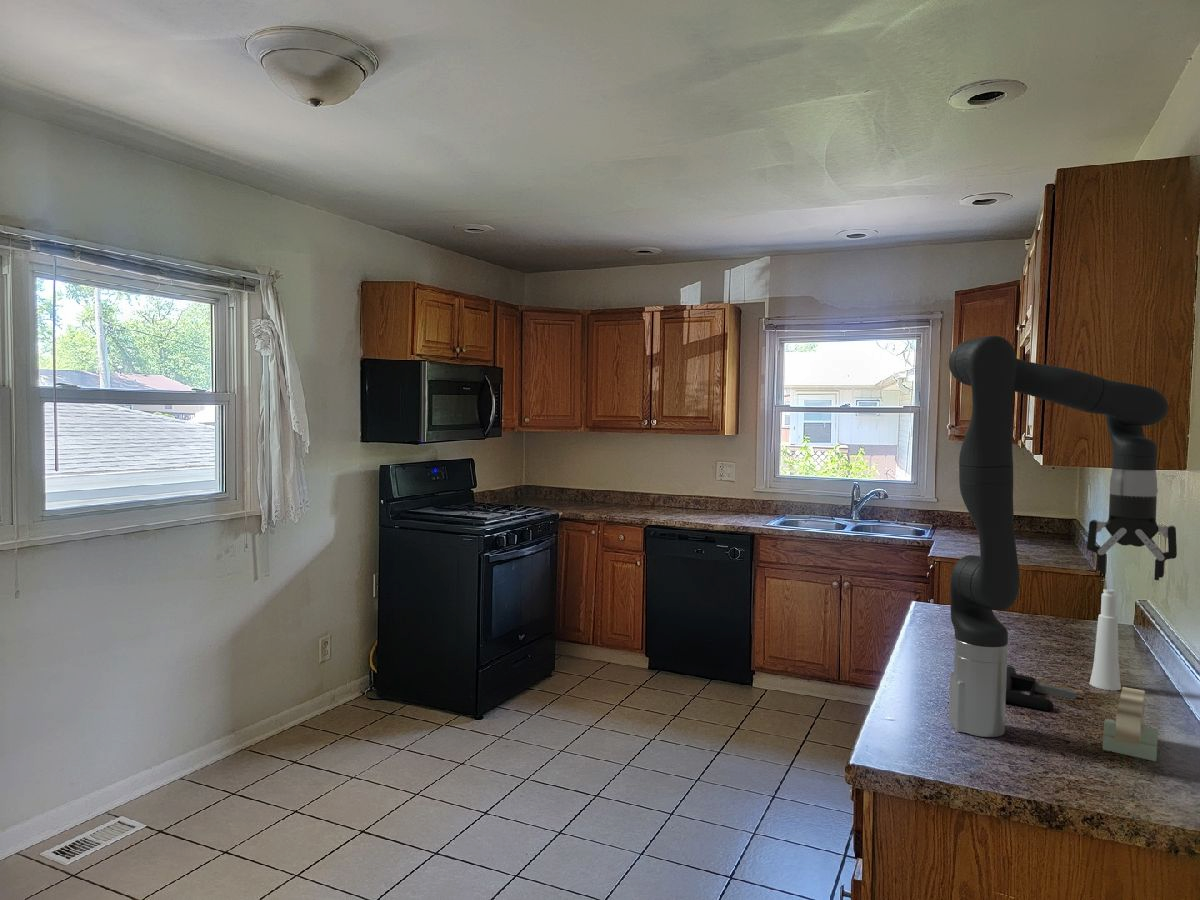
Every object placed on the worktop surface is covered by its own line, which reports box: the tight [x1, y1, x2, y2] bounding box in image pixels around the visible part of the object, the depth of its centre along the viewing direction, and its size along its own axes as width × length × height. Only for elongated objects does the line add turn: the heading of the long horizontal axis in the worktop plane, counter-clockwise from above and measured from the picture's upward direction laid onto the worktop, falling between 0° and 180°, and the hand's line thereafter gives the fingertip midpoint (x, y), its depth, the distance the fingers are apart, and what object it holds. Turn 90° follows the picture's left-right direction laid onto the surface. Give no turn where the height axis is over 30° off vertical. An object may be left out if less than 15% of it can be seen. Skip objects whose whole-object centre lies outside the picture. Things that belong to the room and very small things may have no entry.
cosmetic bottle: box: [1089, 588, 1122, 692], centre depth 177 cm, size 6×6×22 cm
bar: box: [1115, 686, 1146, 745], centre depth 142 cm, size 18×4×4 cm, turn 143°
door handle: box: [1006, 665, 1077, 713], centre depth 171 cm, size 3×20×16 cm
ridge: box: [1102, 718, 1159, 762], centre depth 142 cm, size 5×8×4 cm, turn 53°
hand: (1129, 576), depth 151 cm, fingers open, 8 cm apart
